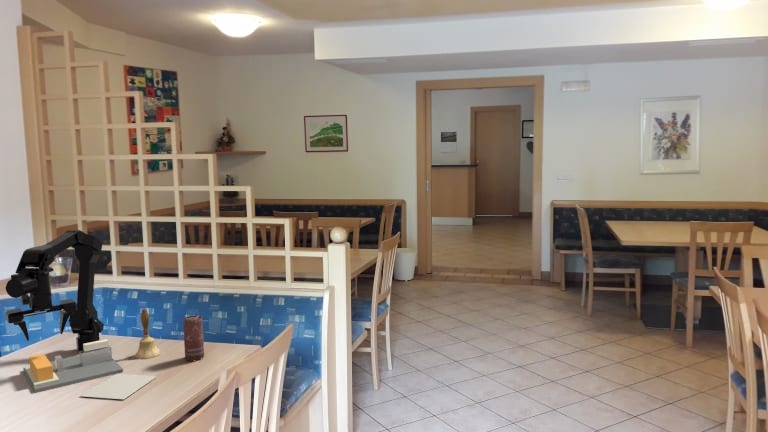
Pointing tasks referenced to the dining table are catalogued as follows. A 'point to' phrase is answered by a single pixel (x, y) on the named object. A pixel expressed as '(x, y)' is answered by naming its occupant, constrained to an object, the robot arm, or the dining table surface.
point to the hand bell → (146, 340)
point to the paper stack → (119, 386)
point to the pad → (40, 381)
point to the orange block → (41, 367)
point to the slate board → (77, 373)
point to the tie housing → (88, 357)
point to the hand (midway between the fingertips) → (44, 337)
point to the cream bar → (95, 345)
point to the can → (193, 337)
